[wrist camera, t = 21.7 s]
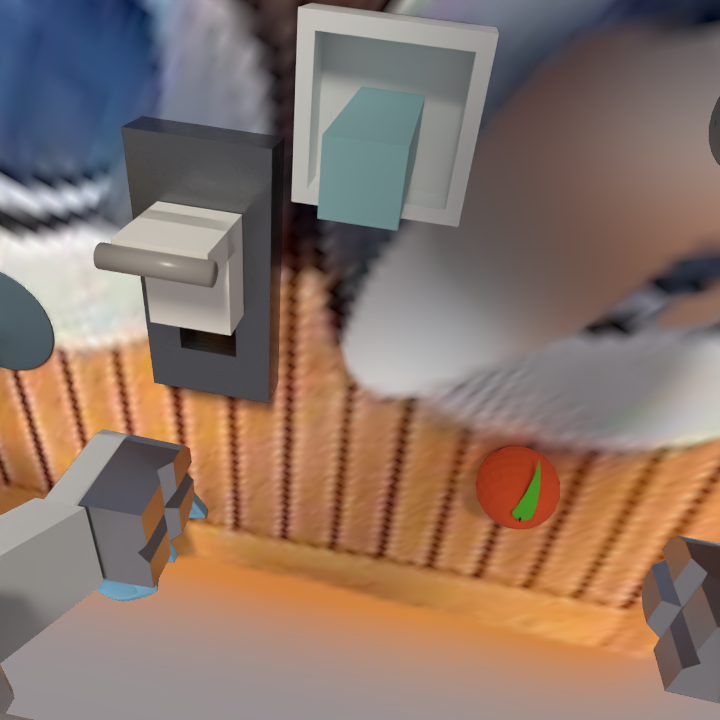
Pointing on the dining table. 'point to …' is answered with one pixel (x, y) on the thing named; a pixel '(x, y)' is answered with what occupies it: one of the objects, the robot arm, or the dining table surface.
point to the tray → (396, 73)
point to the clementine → (518, 487)
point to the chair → (135, 592)
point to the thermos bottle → (715, 132)
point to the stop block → (370, 158)
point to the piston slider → (183, 264)
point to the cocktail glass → (22, 327)
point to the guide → (259, 237)
